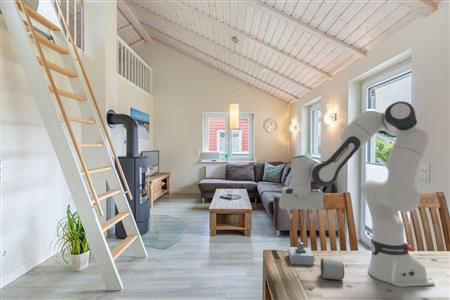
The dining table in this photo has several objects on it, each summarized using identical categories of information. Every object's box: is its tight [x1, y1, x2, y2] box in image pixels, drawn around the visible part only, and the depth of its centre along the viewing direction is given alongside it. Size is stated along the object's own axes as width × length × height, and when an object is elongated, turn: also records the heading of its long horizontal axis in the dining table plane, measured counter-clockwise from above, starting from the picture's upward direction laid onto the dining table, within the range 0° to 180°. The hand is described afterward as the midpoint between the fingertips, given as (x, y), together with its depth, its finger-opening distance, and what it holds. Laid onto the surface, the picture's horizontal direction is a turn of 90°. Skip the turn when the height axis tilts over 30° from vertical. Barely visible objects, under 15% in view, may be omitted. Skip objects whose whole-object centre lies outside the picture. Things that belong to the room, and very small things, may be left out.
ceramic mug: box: [319, 257, 345, 281], centre depth 107 cm, size 11×8×8 cm
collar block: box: [287, 246, 315, 266], centre depth 124 cm, size 10×10×4 cm
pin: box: [296, 241, 305, 253], centre depth 123 cm, size 3×3×8 cm
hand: (301, 218), depth 124 cm, fingers open, 8 cm apart
